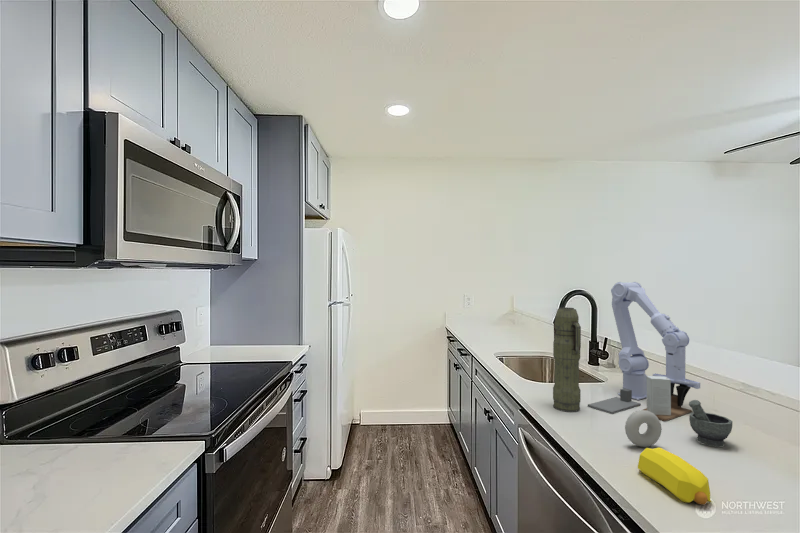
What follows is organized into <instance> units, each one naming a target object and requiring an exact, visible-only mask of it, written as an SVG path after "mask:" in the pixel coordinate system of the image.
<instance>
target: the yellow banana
mask: <svg viewBox="0 0 800 533" xmlns="http://www.w3.org/2000/svg"><path fill="white" fill-rule="evenodd" d="M637 463H638V464H637V469H638V470H640V472H641V473H642V474H644V475H645V476H647V477H648V478H650V479H651V480H653V481H654V482H656V483H658V484H660V485H661V486H663V487H664V488H665V489H667V491H668V492H670V493H671V494H672V495H674V496H675V497H676V498H677V499H679V500H680V501H681V502H682V503H691V502H695V503H696V504H698V505H706V504H707V503H708V502H711V490H710V483H709V478H708V477H707V476H706V475H705V474H704V473H703V472H702V471H701V470H699V469H698V468H696V466H695V467H694V466H693V465H692V464H690V463H689V462H688V461H686V460H685V459H684V458H682V457H681V456H679V455H676V454H675V453H672V452H670V451H668V450H666V449H664V448H662V447H655V448H650V447H645V448H644V449H643V451H642V452H640V454H639V457H638V462H637Z"/></svg>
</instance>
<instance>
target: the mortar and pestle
mask: <svg viewBox="0 0 800 533" xmlns="http://www.w3.org/2000/svg"><path fill="white" fill-rule="evenodd" d="M701 404H702V403H701V402H700V401H699V400H698V399H692V400H690V401H689V402H688V406H689V407H690V408H691V410H692V412H690V413H689V417H688V418H689V424H690V427H691V429H692V431H694V433H695V434H697V437H696V441H697V442H699V443H700V444H703V445H705V446H710V447H715V448H720V447H722V448H723V447H725V441H724V440H726V439H727V438H728V437H729V435H730V434H731V433H732V429H733V420H731V419H730V418H728V417H725V416H722V415H719V414H716V413H710V412H705V410H704V409H703V407H702V405H701Z"/></svg>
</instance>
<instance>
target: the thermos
mask: <svg viewBox="0 0 800 533" xmlns="http://www.w3.org/2000/svg"><path fill="white" fill-rule="evenodd" d="M556 310H557V311H556V313H555V316H554V317H555V318H554V320H555V321H554V322H553V344H552V346H553V348H552V350H553V353H552V354H553V355H552V356H553V359H554V384H553V387H552V399H553V404H552V405H553V408H554V409H555V410H558V411H561V410H562V412H566V411H567V412H568V413H569V412H570V413H574V412H575V413H576V412H579V411H581V407H580V405H581V388H580V383H579V382H580V381H579V380H580V378H579V377H580V373H579V372H580V359H581V348H582V347H581V344H582V341H581V340H582V339H581V338H582V336H581V335H582V331H581V329H582V327H581V325H580V322H579V314H578V311H577V309H575V308H574V307H559V308H557V309H556Z"/></svg>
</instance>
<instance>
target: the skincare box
mask: <svg viewBox="0 0 800 533" xmlns="http://www.w3.org/2000/svg"><path fill="white" fill-rule="evenodd" d="M646 408H647V411H650V412H652V413H653V414H655V415H669V416H671V380H670V379H669V378H667V377H664V376H653V375H647V398H646Z"/></svg>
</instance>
